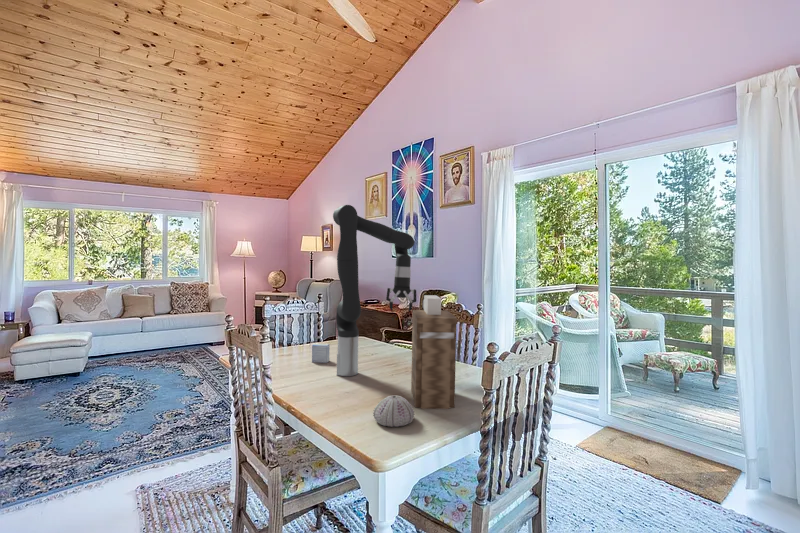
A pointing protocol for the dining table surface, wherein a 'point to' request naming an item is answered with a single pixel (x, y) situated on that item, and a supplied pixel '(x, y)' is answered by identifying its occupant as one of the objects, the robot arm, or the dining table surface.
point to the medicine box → (320, 353)
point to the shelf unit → (433, 360)
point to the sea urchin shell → (394, 411)
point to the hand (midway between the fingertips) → (400, 310)
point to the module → (432, 304)
